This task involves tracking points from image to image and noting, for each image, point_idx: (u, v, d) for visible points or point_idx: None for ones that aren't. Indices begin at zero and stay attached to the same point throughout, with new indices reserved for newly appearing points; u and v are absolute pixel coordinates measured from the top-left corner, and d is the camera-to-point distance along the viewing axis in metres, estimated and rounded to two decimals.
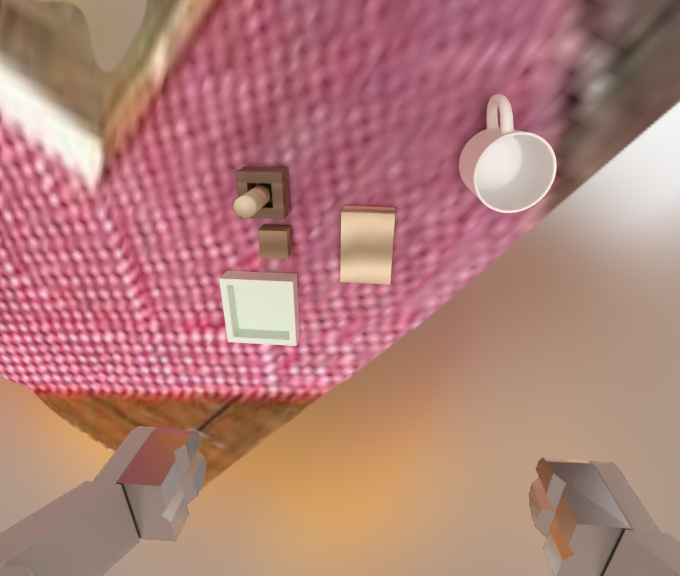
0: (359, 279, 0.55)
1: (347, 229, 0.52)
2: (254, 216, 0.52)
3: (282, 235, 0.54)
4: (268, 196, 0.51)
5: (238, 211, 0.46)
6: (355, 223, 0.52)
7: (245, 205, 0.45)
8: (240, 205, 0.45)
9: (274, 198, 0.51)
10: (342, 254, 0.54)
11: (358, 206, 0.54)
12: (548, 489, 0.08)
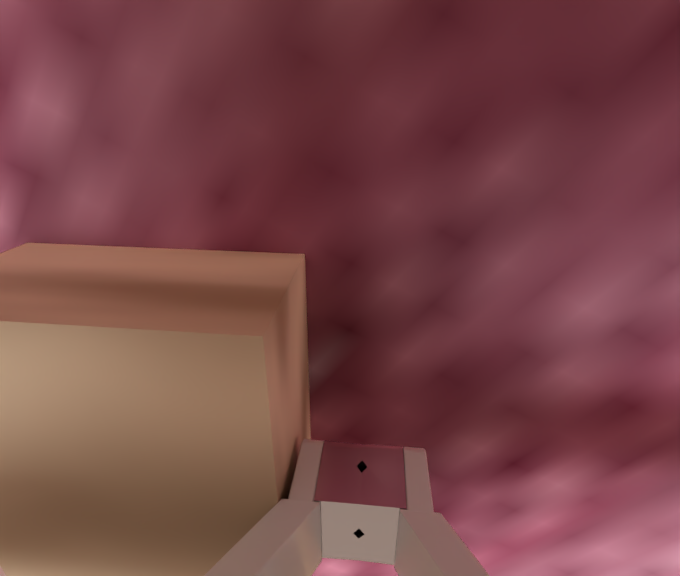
0: None
1: None
2: None
3: None
4: None
5: None
6: None
7: None
8: None
9: None
10: None
11: (98, 249, 0.09)
12: None
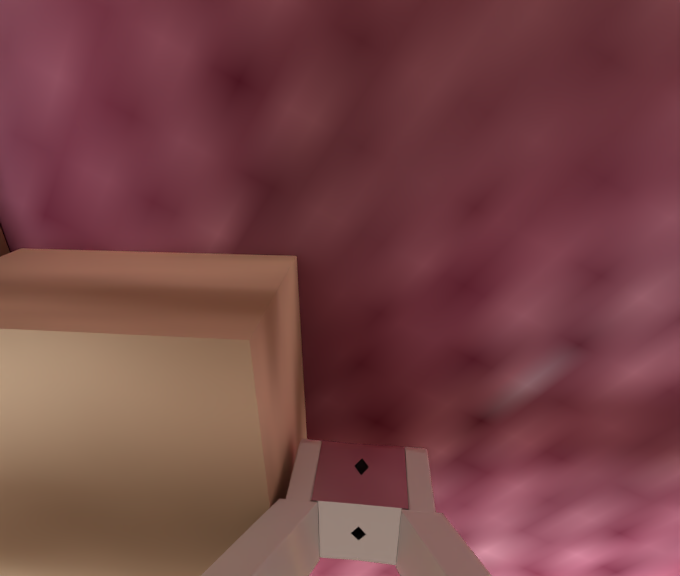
0: None
1: None
2: None
3: None
4: None
5: None
6: None
7: None
8: None
9: None
10: None
11: (90, 254, 0.09)
12: (361, 473, 0.09)
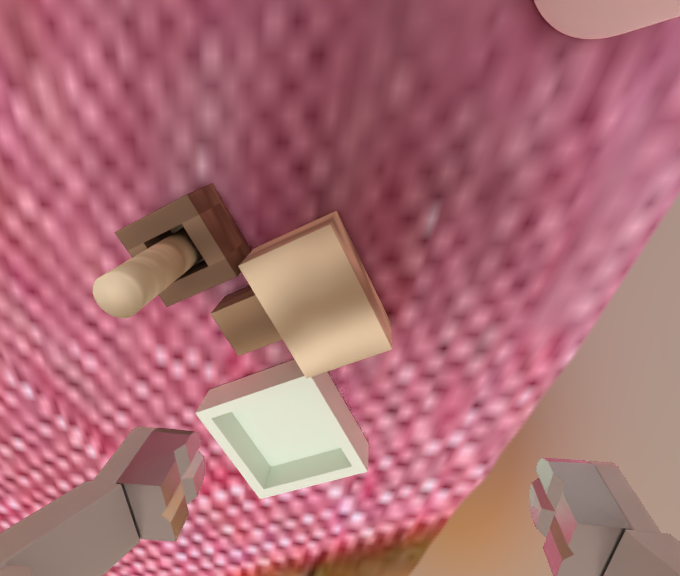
0: (335, 362, 0.29)
1: (266, 290, 0.27)
2: (187, 294, 0.27)
3: (252, 305, 0.28)
4: (187, 249, 0.26)
5: (111, 309, 0.21)
6: (271, 273, 0.27)
7: (115, 291, 0.20)
8: (107, 295, 0.20)
9: (201, 247, 0.26)
10: (283, 334, 0.28)
11: (276, 238, 0.29)
12: (548, 489, 0.08)
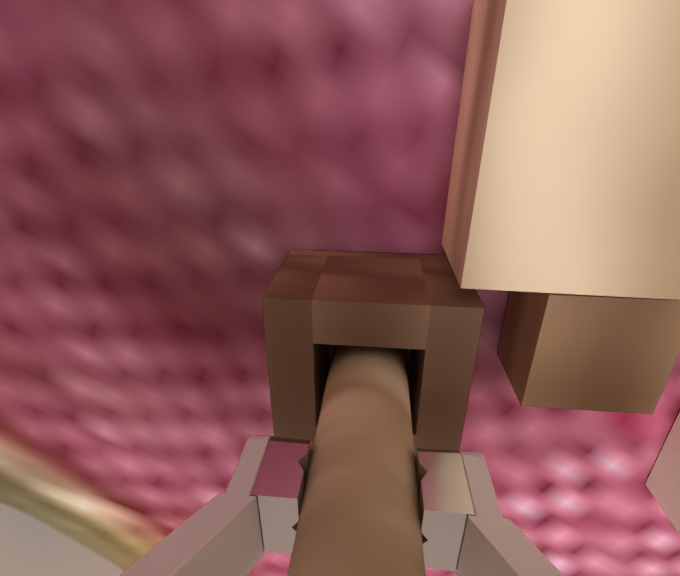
0: None
1: (561, 260, 0.10)
2: (456, 423, 0.12)
3: (566, 315, 0.11)
4: (366, 367, 0.11)
5: None
6: (530, 223, 0.10)
7: None
8: None
9: (379, 338, 0.11)
10: None
11: (451, 186, 0.13)
12: (417, 478, 0.09)
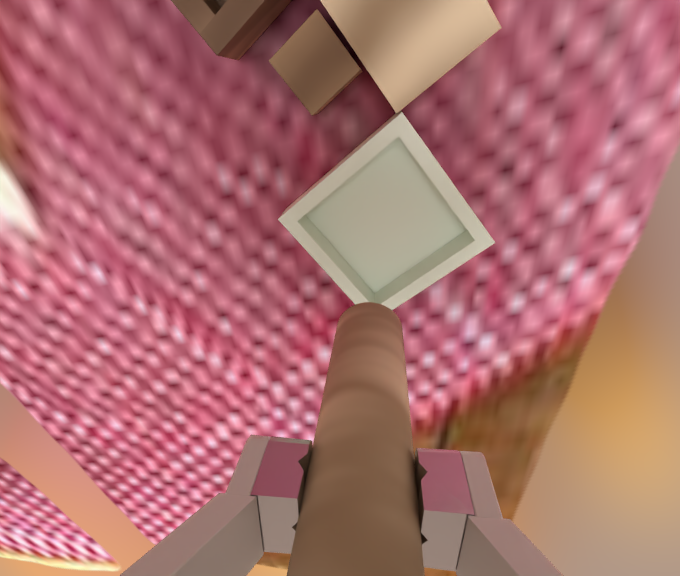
0: (429, 74, 0.23)
1: None
2: (236, 25, 0.23)
3: (316, 26, 0.23)
4: (365, 367, 0.11)
5: None
6: None
7: None
8: None
9: None
10: (359, 49, 0.23)
11: None
12: (417, 478, 0.09)
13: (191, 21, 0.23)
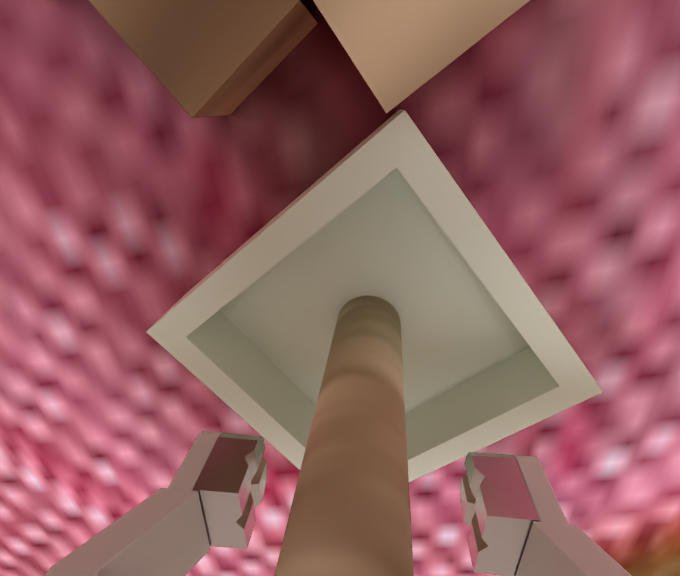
0: (476, 11, 0.09)
1: None
2: None
3: None
4: (362, 355, 0.11)
5: None
6: None
7: None
8: None
9: None
10: None
11: None
12: (471, 483, 0.09)
13: None
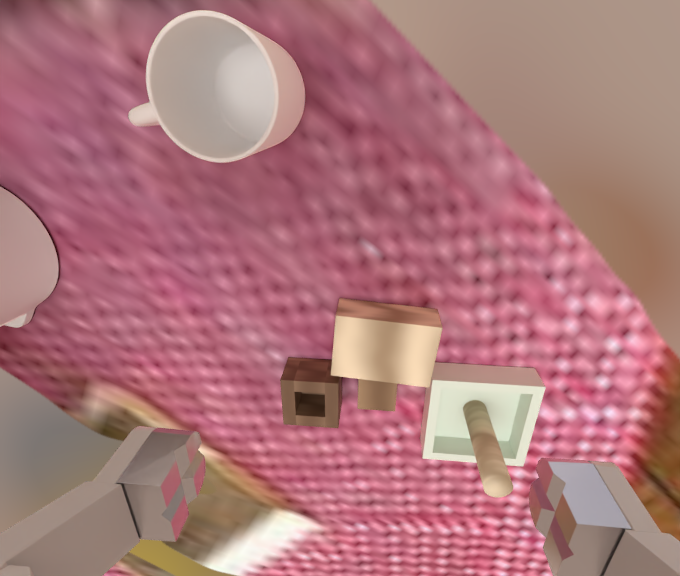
0: (428, 365, 0.39)
1: (354, 371, 0.40)
2: (336, 413, 0.42)
3: (364, 383, 0.41)
4: (474, 429, 0.40)
5: (508, 489, 0.35)
6: (346, 362, 0.39)
7: (494, 488, 0.35)
8: (499, 491, 0.35)
9: (312, 390, 0.41)
10: (388, 380, 0.40)
11: None
12: (548, 489, 0.08)
13: (318, 425, 0.43)
